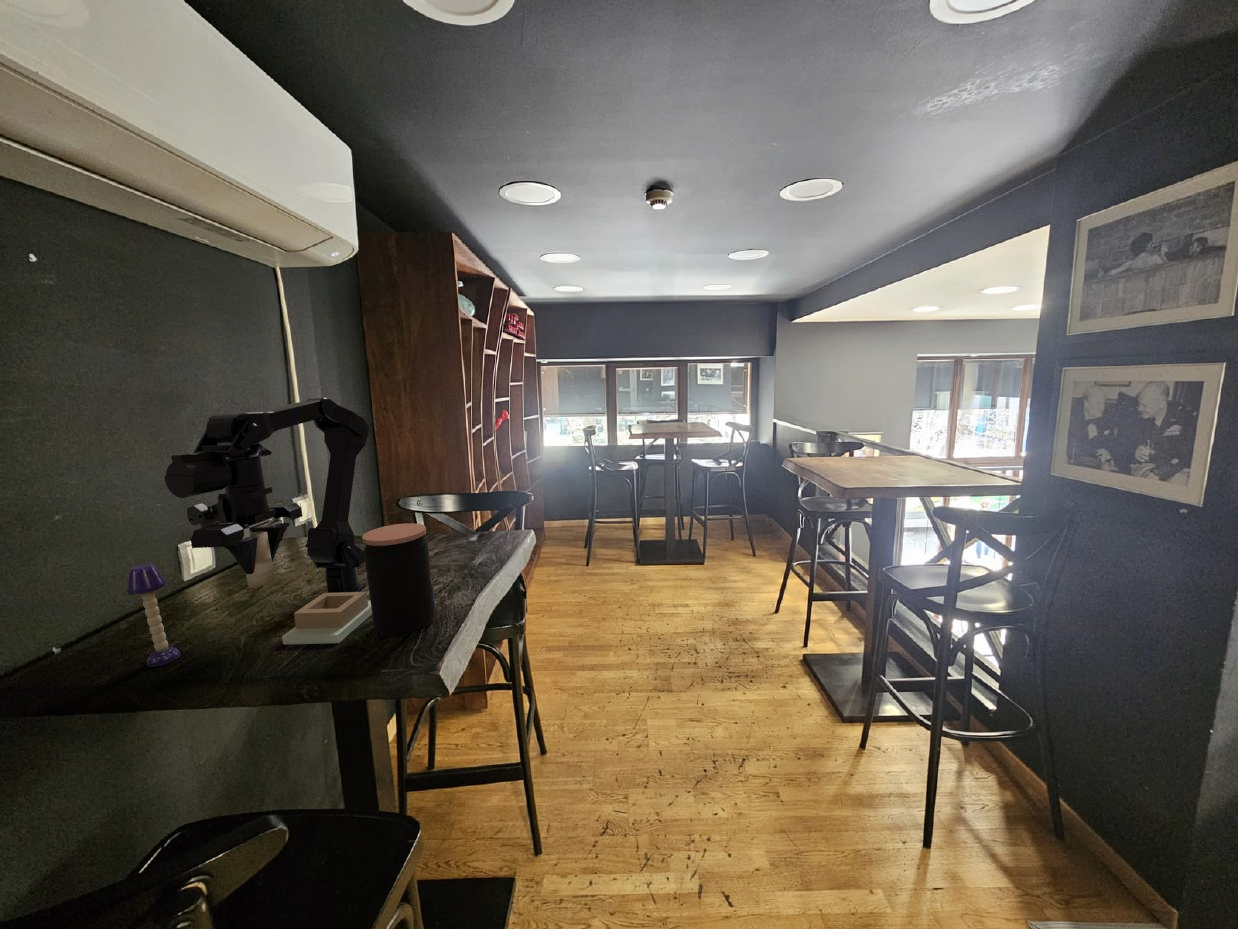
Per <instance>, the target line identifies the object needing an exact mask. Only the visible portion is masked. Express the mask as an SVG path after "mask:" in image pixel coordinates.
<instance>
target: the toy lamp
mask: <svg viewBox="0 0 1238 929" xmlns="http://www.w3.org/2000/svg"><path fill="white" fill-rule="evenodd" d="M166 584H167V581H166V580H165V578H164V576H163V575H162V574H161V572H160V570H159V569H158V568H157V566H156V565H155V564H154V563H153V562H152V563H143V564H139V565H136V566H133V567H131V568H129V570H128V578H127V588H126V593H127V594H128V595H131V596H136V595H140V597H141V599H143V601H142V606H143V607H144V608H145V611H144V612H145V613H144V614H145V616H146V617H147V619H146V621H147V624H148V626H149V633H150V634H151V640H152V643H154V645H153V646H154V647H153V648H154V651H153V652H152V653H151V654H150V655H148V658H147V660H146V666H147V667H149V668H155V667H160V666H163V665H167V664H169V663H172V662H175V660H177V659H179V658H180V657H181V652H180V650H179V649H177V648H176V647H172V646H169V643H168V640H167V634H166V632H165V631H164V630H165V627H164V625H163V623H162V616H161V615H160V607H159V606H158V598H156V591H157V590H160V589H161V588H163V587H165V586H166Z"/></svg>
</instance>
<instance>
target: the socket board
mask: <svg viewBox="0 0 1238 929" xmlns="http://www.w3.org/2000/svg"><path fill="white" fill-rule="evenodd" d="M371 615H372V609H371V601H370V599H368V592H367V591H358V592H342V593H326V592H323V593H321V594H320V595H319V596H316V598H314V599H313V600H311V601H310V602H309V603H307V604H305V605H303V607H300V609H298V610H295V612H294V613H293V616H294V622H295V626H294V627H293V628H292V629H291V630H289V631H287V632H286V633H285V634H283V635H282V636H281V639H282V644H283V645H310V644H311V645H312V644H313V645H314V644H315V645H316V644H340V642H342V641H343V640H344V639H345V638H347V637H348V636H349V635H350V634H351V633H352V632H353V631H354V630H356V629H357V628H358V627H359V626H360V625H361V624H362V623H363V622H365V620H367V619H368V618H369V617H370V616H371Z"/></svg>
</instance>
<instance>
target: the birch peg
mask: <svg viewBox="0 0 1238 929" xmlns="http://www.w3.org/2000/svg"><path fill="white" fill-rule="evenodd" d="M250 537H258V539H257V550H256V561H255V569H254V573H253V574H246V573H245V577H246V584H247V587H249V588H257V587H263V586H267V585H269V584H273V582H275V580H276V578H275V574H274V572H275V571H274V567H273V566H274V565H273V562H272V559H271V553H270V547H269V541H268V535H267V532H264V531H262V532H250Z"/></svg>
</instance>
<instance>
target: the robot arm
mask: <svg viewBox="0 0 1238 929" xmlns="http://www.w3.org/2000/svg"><path fill="white" fill-rule="evenodd" d="M308 422H313V425H314V426H315V428H316V429H317V430H319V431H321V432H322V433H323V434H324V435H323V437H324V438H323V439H324V444H325V445H326V447H327V450H328V451H329V463H328V472H327V478H326V485H325V491H324V492H325V493H324V499H323V507H322V515H321V520H320V521H319V523H317V525H316V526H315V527H309V528H308V530H307V540H306V543H305V546H304V548H307V550H306V552H307V557H308V558H309V559H310V560H311V561H312V563H313V564H314V566H315V568H316V569H325V570H324V572H325V583H326V588H327V589H326V590H327V591H326V592H325V593H342V592H361V591H362V590H363V588H365V587H367V583H365V582H364V583H362V582H361V583H360V579H359V578H360V577H359V572H358V568H359V567H361V566H362V564H364V563H365V557H364V549H361V548H360V547H359V546H357V545H356V544H355V534H354V532H353V529H352V527H351V524H350V522H349V516H350V510H351V509H350V508H351V501H352V500H351V499H352V492H353V485H354V477H355V476H354V475H355V469H356V462H357V461H356V459H357V457H358V455H360V452H361V451H362V450H363V449H364V447H365V446H366V444H367V440H368V437H369V431H370V428H369V424H368V422H367V421H366V420H365V418H364V417H362V416H360V415H358V414H357V413H356V412H354V411H352V410H350V409H348V408H345V407H343V406H341V405H339V404H337V403H336V402H334V401H333V400H332V399H330V398H327V397H314V398H312V397H311V398H307V399H306V400H302V401H298V402H294V403H290V404H286V405H283V406H282V405H281V406H278V407H273V408H269V409H264V410H261V411H253V412H252V411H251V412H227V413H216V414H214V415H211V416H210V417H209V418H208V421H207V423H206V428H205V431H204V432H203V435H202V436H201V437H200V440H199V441H198V443H197V445H196V447H195V449H194V451H193V453H178V454H172V455H171V457H170V458H171V463H170V464H169V465H168V467H167V468H166V471H165V475H164V478H163V479H164V482H165V483H164V484H165V485H166V488H167V489H168V491H169V492H170V493H171V494H172V495H173V496H175V497H176V498H179V499H185V498H190V497H194V496H201V495H205V494H209V493H215V492H217V491H222V490H224V492H220V493H219V494H218V496H217V503H214V504H211V505H208V506H207V505H206V504H204V503H203V502H202V503H199V504H195V505H192V506H189V507H186V516H187V517H186V518H187V520H188V522H189V523H190V525H191V526H194V527H195V526H198V525H199V526H200V528H197V529H194V530H193V531H192V532H191V533H190V535H189V539H190V544H191V548H192V549H203V548H204V549H207V548H225V549H227V550H228V552H230V553H231V555H232V556H233V557H234V559H235V561H237V563H238V564H239V566H240V567H241V569H242V570H243V571H244V573H245V575H246V574H253V573H254V569H255V561H256V550H257V539H258V537H250V533H253V532H262V531H264V532H267V535H268V541H269V547H270V553H271V559H272V563H273V562H274V559H275V557H276V554H277V552H278V549H279V546H280V544H281V542H282V539H283V537H284V535H285V533H286V531H287V528H288V527H290V525H291V524H290V522H283V519H281V518H287V519H289V520H290V521H294V520H297V519H299V518H301V517H303V511H302V510H303V509H302V507H301V505H299V504H298V503H297V502H284V503H282V502H281V503H280V502H279V503H272V504H269V499H268V494H271V493H273V487H272V486H266V482H265V476H264V469H263V464H262V458H261V457H266V456H271V455H272V454H273V452H272V450H269V449H268V448H267V447H265V446H263V445H262V444H261V443H262V442H264V441H266V440H268V439H269V438H271V436H272V435H273V434H274V433H277V431H282V430H283V429H287V428H291V427H293V426H294V427H295V426H298V425H301V424H305V423H308Z"/></svg>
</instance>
